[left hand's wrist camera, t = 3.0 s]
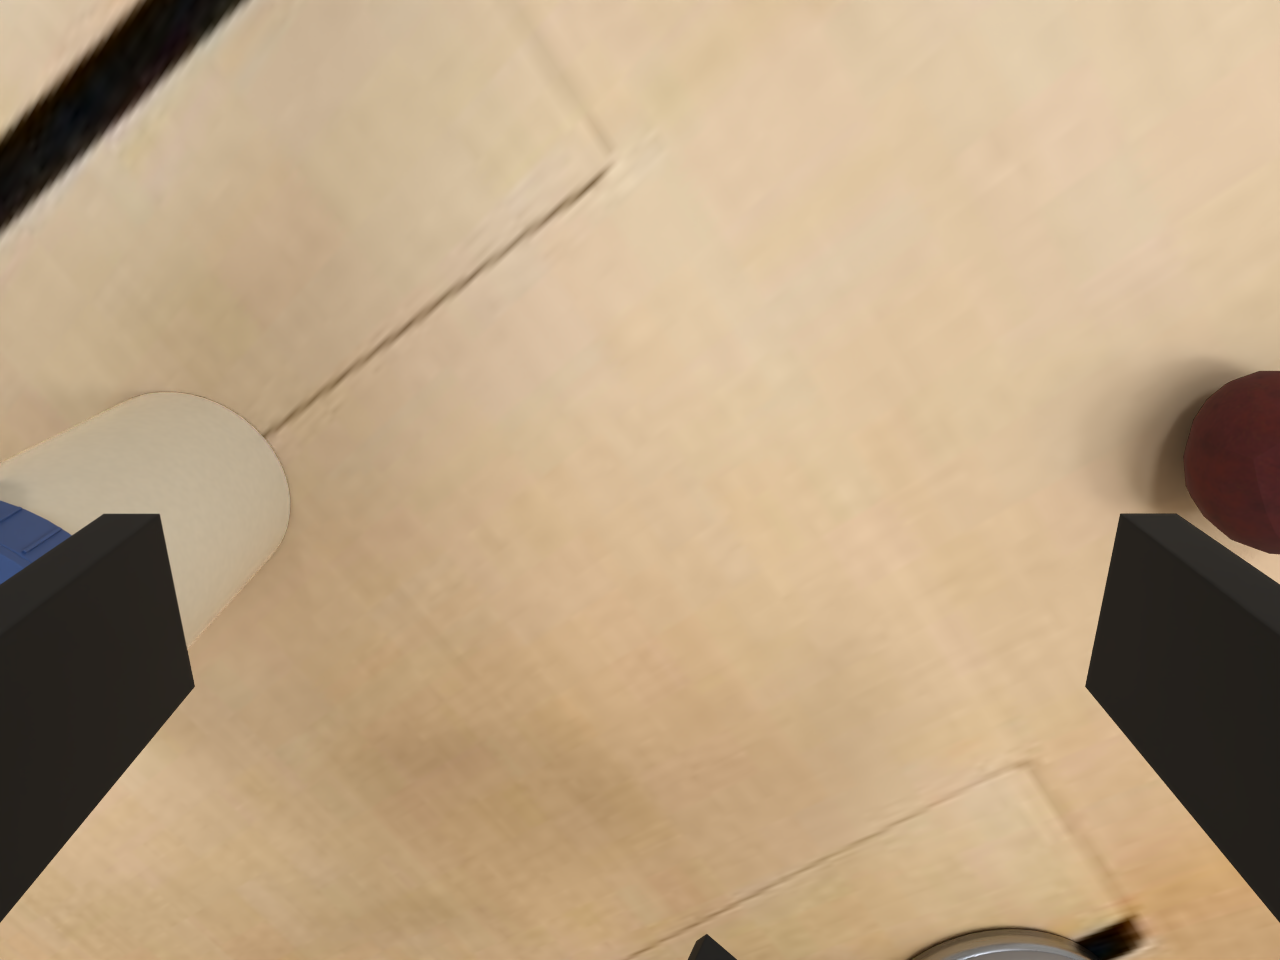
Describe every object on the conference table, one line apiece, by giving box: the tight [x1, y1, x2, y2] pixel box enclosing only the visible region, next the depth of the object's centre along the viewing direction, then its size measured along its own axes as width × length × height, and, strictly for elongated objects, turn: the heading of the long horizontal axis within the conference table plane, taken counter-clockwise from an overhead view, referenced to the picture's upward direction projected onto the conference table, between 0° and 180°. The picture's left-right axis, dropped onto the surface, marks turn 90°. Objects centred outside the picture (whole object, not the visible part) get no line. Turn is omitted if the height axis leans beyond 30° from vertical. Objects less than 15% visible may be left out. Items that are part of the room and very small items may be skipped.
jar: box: [0, 392, 290, 650], centre depth 35 cm, size 10×10×16 cm
